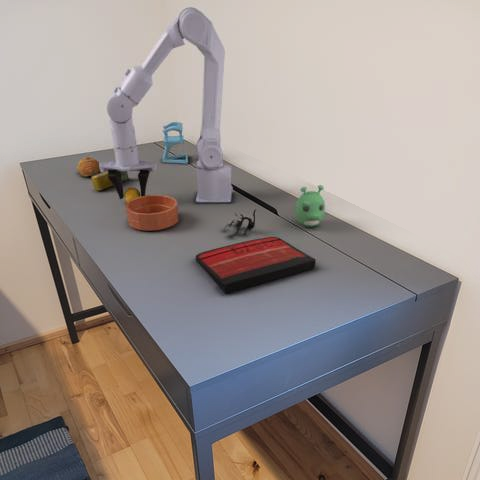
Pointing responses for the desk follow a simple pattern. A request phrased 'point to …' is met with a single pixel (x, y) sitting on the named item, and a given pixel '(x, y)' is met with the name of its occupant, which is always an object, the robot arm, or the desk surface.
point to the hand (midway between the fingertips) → (132, 197)
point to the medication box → (106, 180)
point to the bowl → (152, 212)
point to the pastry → (88, 167)
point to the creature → (249, 227)
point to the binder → (253, 263)
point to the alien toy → (310, 207)
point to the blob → (131, 194)
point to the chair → (173, 143)
